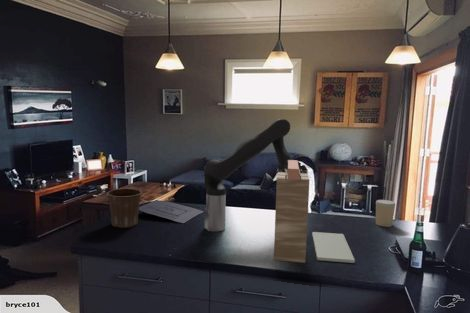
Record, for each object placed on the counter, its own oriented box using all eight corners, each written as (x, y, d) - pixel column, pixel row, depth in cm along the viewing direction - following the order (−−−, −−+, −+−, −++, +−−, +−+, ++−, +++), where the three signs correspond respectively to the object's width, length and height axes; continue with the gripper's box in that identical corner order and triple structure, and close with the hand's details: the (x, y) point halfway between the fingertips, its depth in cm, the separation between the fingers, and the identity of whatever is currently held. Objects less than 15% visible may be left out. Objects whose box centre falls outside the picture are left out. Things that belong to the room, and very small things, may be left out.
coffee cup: (395, 223, 191) (396, 201, 189) (391, 228, 183) (393, 205, 181) (376, 220, 195) (377, 198, 194) (372, 225, 188) (374, 202, 186)
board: (354, 263, 140) (354, 260, 140) (317, 260, 142) (317, 257, 142) (343, 236, 169) (343, 234, 169) (312, 234, 171) (312, 231, 171)
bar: (298, 179, 134) (299, 169, 134) (287, 179, 135) (288, 168, 135) (297, 169, 158) (297, 160, 158) (287, 169, 159) (288, 159, 158)
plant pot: (146, 226, 177) (146, 193, 175) (113, 231, 168) (112, 197, 166) (135, 217, 191) (135, 187, 189) (103, 222, 182) (102, 190, 180)
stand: (305, 262, 139) (309, 176, 135) (273, 260, 141) (276, 175, 136) (303, 248, 153) (307, 170, 149) (274, 246, 154) (277, 169, 150)
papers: (158, 203, 215) (158, 197, 214) (203, 216, 205) (204, 209, 204) (132, 214, 192) (133, 207, 192) (182, 228, 182) (183, 221, 182)
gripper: (276, 168, 171) (276, 154, 155) (307, 170, 169) (310, 155, 153) (275, 184, 168) (275, 170, 152) (307, 185, 166) (310, 172, 150)
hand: (292, 163), depth 153 cm, fingers closed on bar, 4 cm apart
